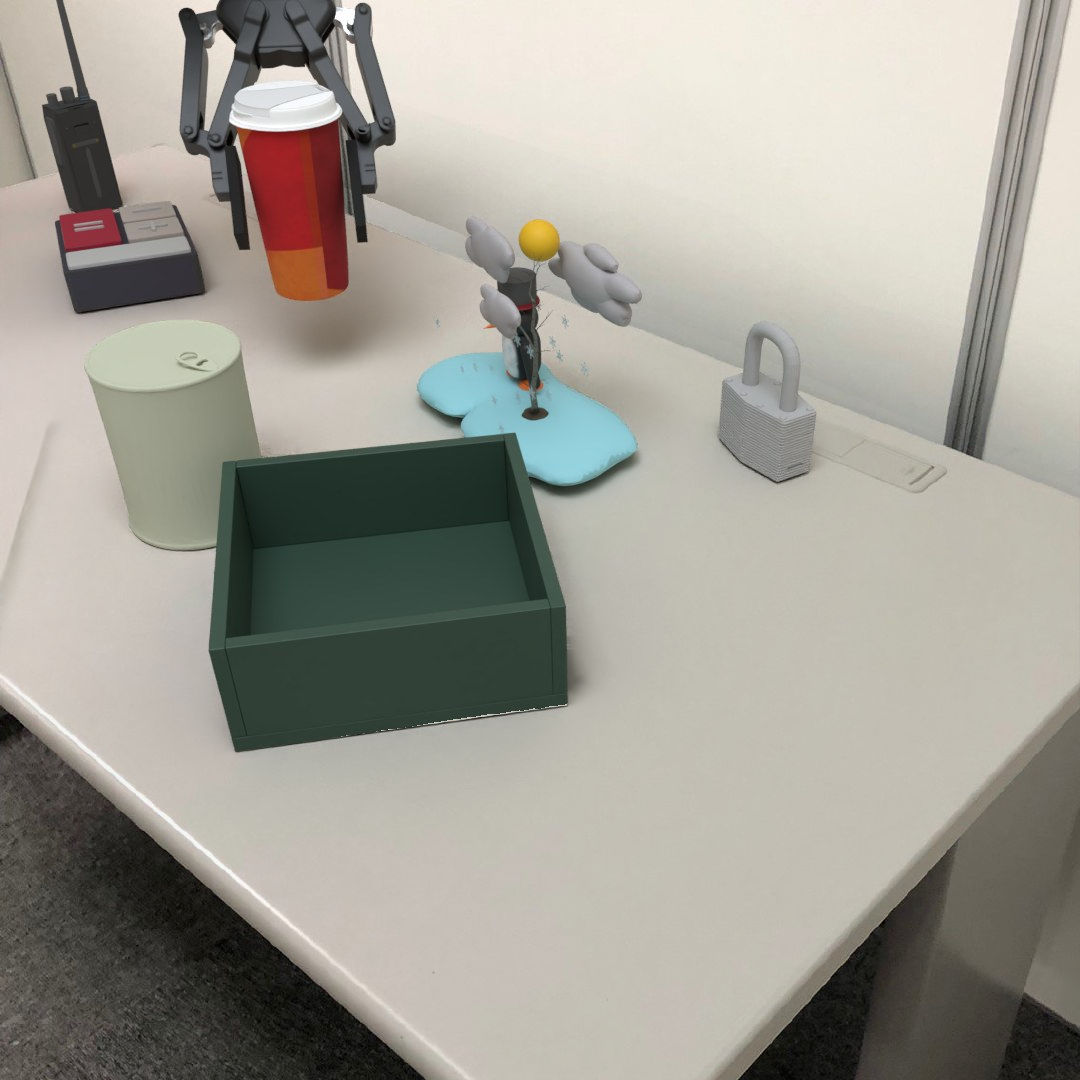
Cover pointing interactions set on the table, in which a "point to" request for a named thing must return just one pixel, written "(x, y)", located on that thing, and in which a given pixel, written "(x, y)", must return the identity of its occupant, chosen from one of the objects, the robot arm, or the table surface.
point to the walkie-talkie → (80, 140)
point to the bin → (382, 591)
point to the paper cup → (296, 184)
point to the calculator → (127, 256)
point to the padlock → (768, 410)
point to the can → (173, 424)
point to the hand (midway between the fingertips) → (302, 237)
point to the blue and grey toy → (535, 358)
